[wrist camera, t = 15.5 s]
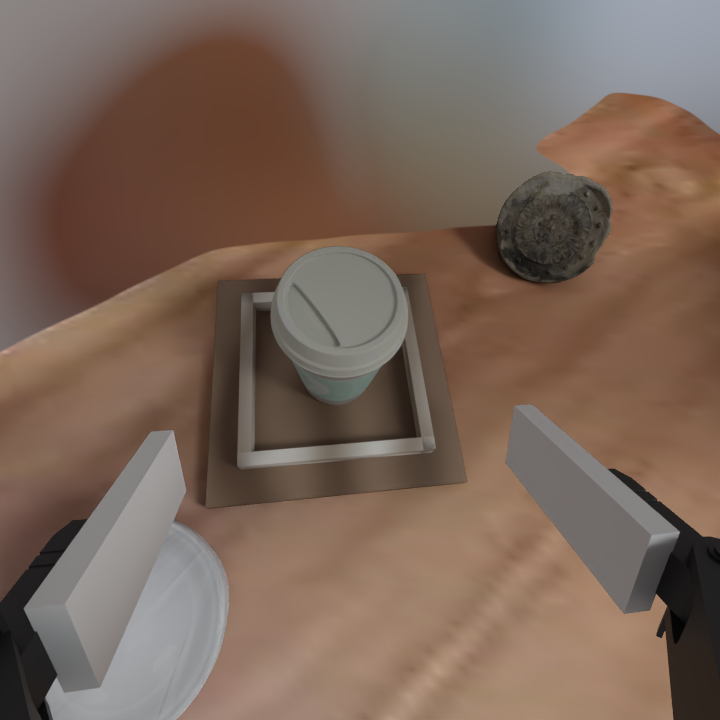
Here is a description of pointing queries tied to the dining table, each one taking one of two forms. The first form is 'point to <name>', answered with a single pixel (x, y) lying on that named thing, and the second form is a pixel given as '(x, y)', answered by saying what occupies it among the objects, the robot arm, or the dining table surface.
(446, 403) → the locating board
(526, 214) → the fossil
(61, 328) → the dining table surface
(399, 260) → the dining table surface
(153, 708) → the ramekin
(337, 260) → the coffee cup
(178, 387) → the dining table surface
